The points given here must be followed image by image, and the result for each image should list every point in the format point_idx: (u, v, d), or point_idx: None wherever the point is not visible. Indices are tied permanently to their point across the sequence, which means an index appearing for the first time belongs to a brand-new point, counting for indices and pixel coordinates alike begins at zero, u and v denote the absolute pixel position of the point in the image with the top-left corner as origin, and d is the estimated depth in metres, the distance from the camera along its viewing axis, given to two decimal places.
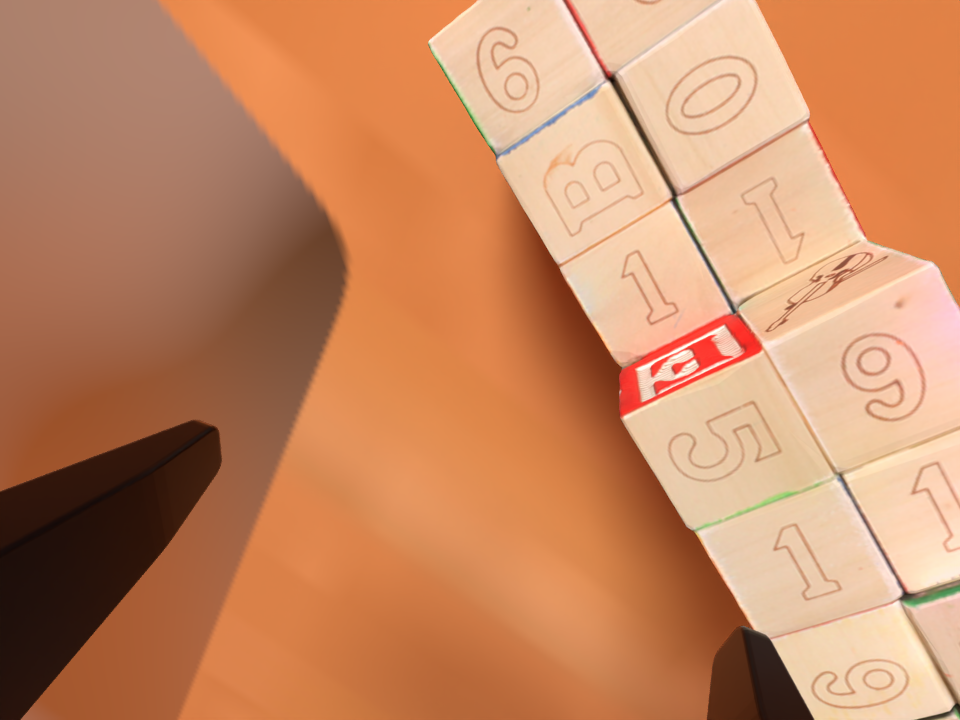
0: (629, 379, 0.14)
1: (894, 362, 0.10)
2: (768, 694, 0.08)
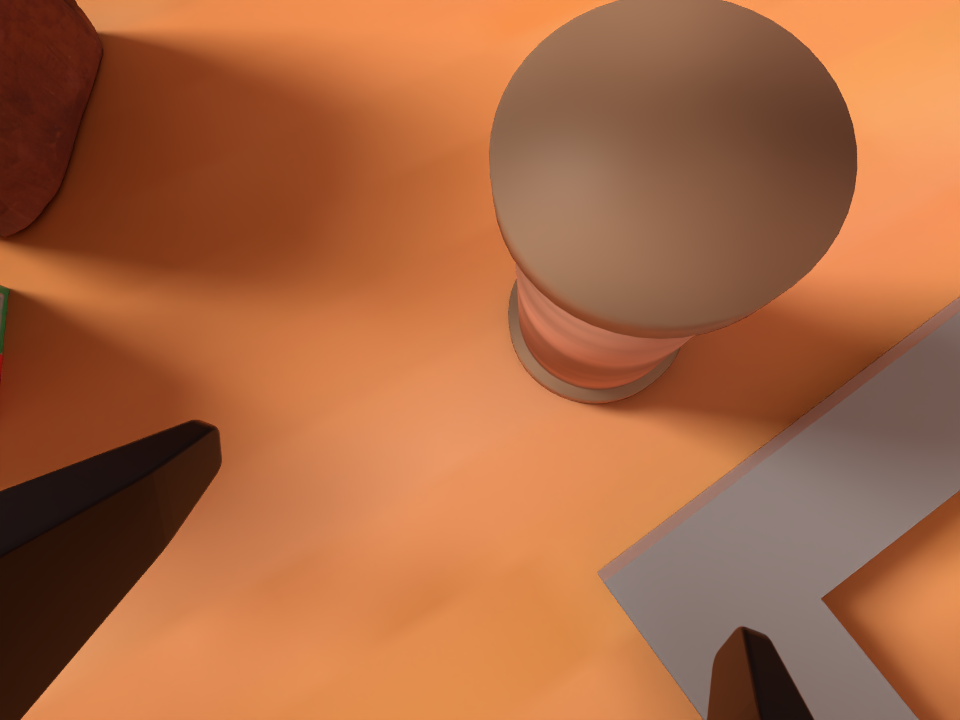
0: None
1: None
2: (768, 694, 0.08)
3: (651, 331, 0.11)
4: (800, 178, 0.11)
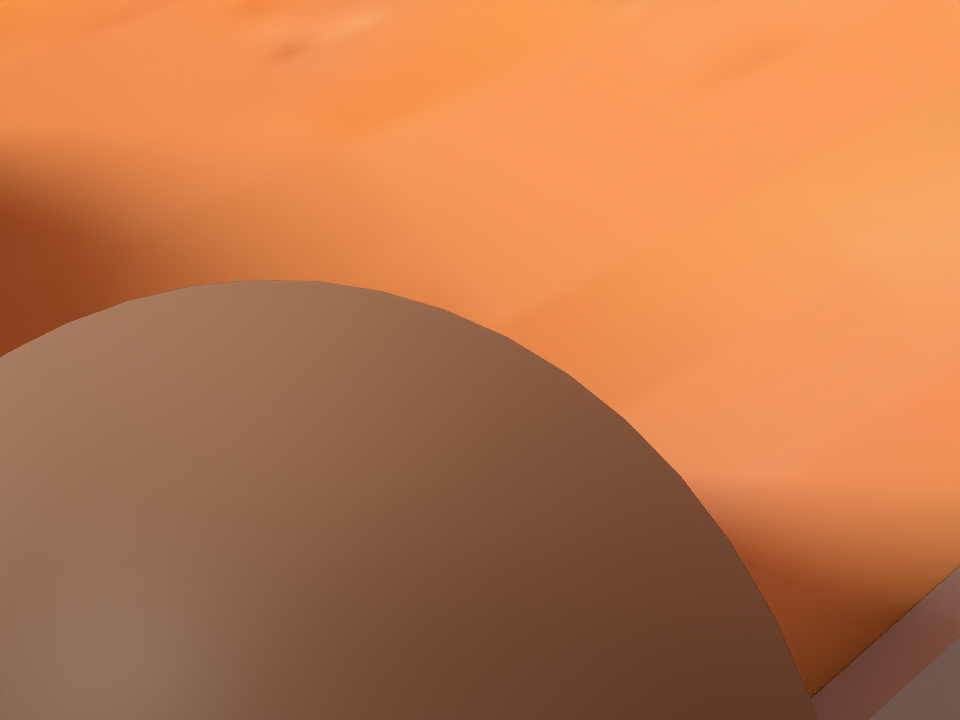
0: None
1: None
2: None
3: None
4: None
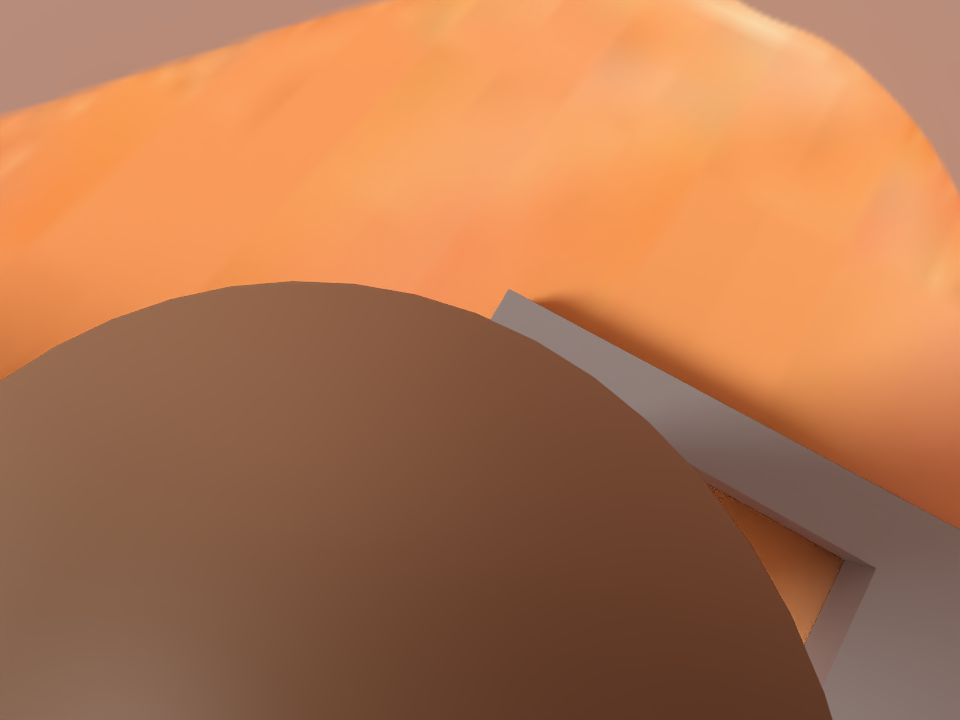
0: None
1: None
2: None
3: None
4: None
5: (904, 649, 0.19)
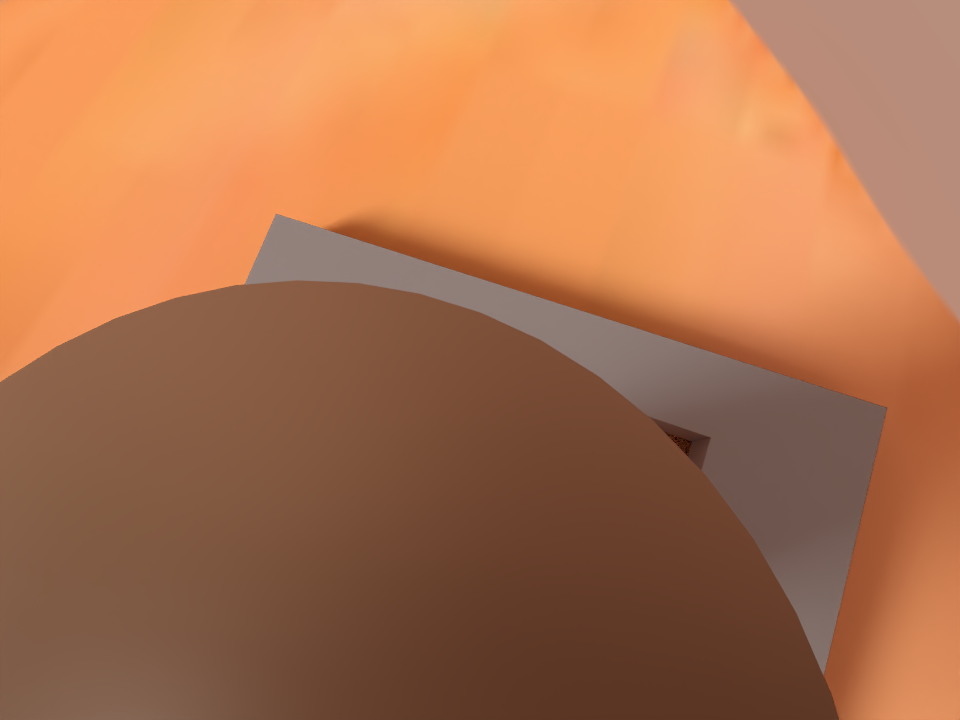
0: None
1: None
2: None
3: None
4: None
5: (753, 519, 0.17)
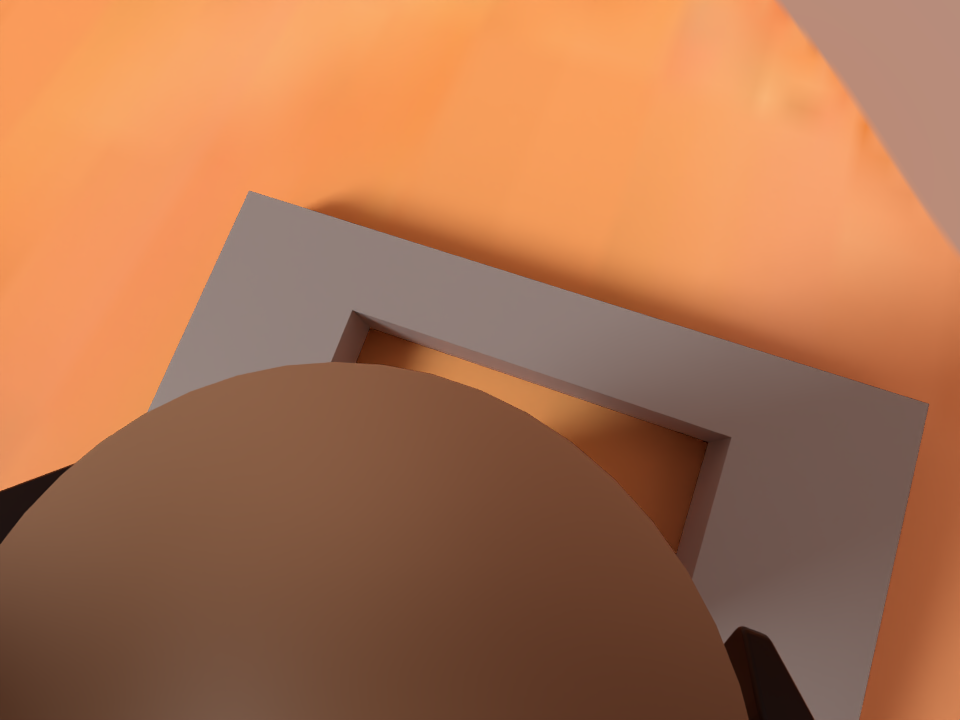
0: None
1: None
2: (768, 694, 0.08)
3: None
4: None
5: (780, 529, 0.15)
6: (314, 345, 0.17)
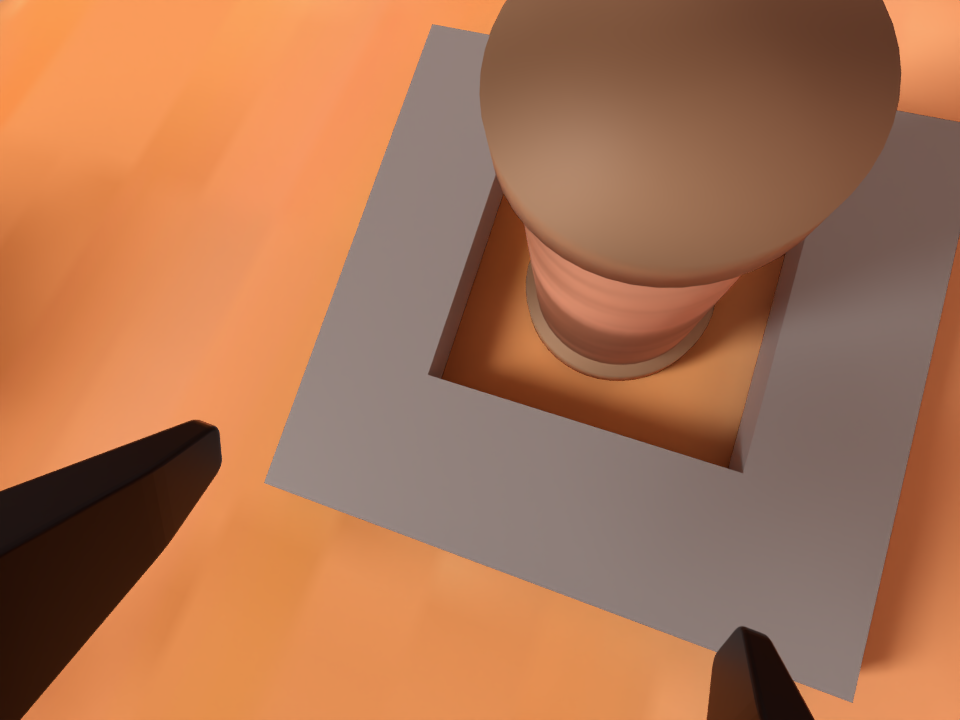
0: None
1: None
2: (768, 694, 0.08)
3: (670, 278, 0.10)
4: (834, 90, 0.09)
5: (865, 226, 0.20)
6: None
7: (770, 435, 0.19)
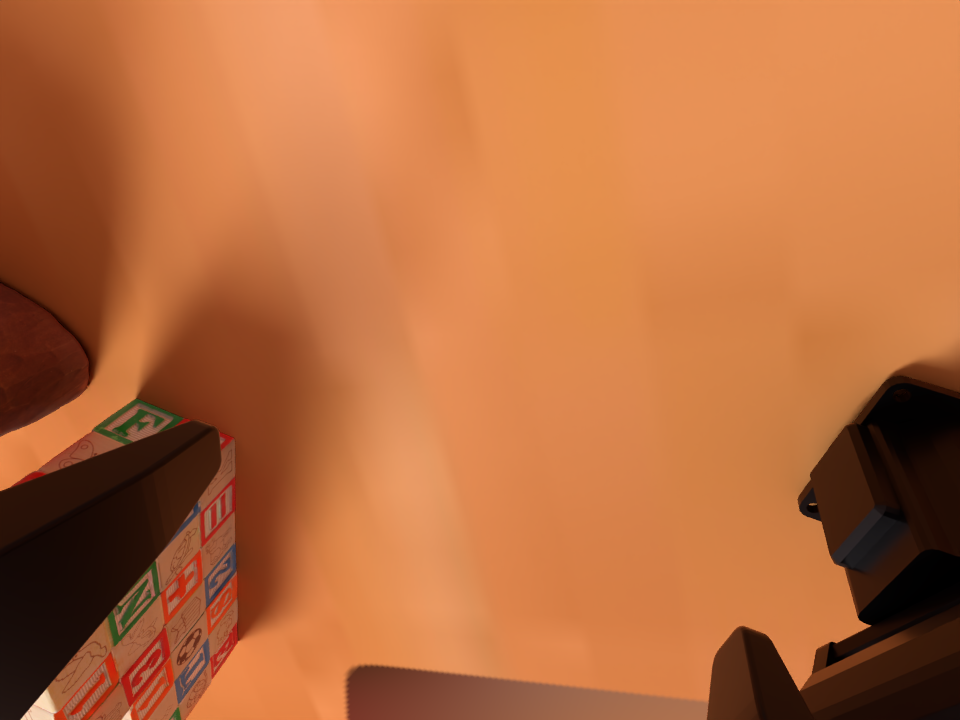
0: None
1: None
2: (768, 694, 0.08)
3: None
4: None
5: None
6: None
7: None
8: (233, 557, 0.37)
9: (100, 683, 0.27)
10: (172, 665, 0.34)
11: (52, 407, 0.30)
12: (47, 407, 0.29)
